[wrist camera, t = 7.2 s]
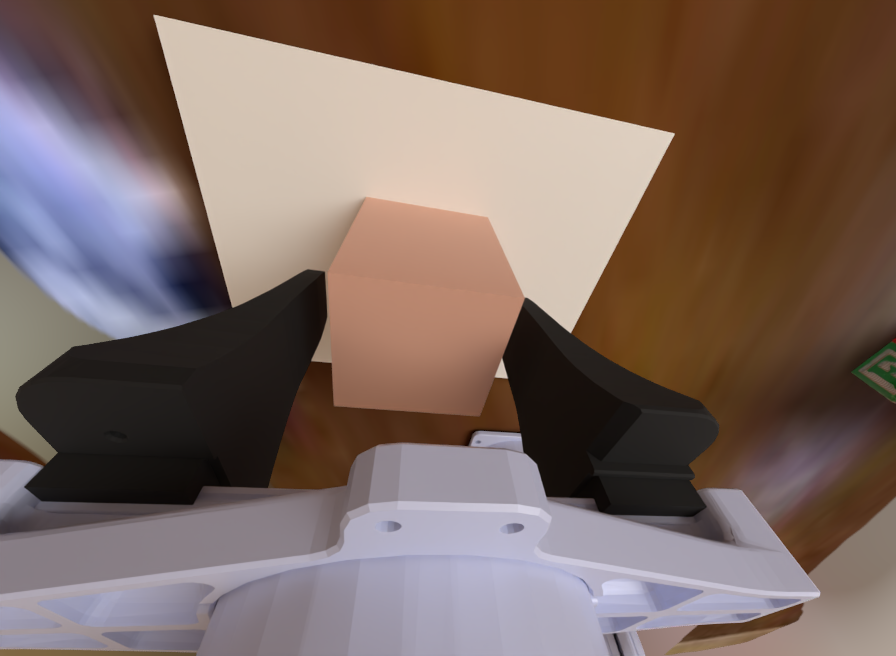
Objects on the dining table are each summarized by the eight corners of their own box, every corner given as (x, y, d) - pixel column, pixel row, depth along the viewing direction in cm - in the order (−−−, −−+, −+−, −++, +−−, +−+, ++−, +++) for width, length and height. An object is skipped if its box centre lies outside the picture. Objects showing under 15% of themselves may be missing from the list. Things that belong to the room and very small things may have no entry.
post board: (540, 368, 22) (577, 461, 16) (254, 341, 19) (187, 442, 14) (657, 129, 13) (809, 161, 8) (177, 20, 11) (-70, -41, 5)
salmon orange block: (463, 313, 17) (479, 416, 12) (363, 301, 16) (334, 406, 11) (488, 217, 14) (524, 298, 9) (366, 196, 13) (327, 272, 8)
